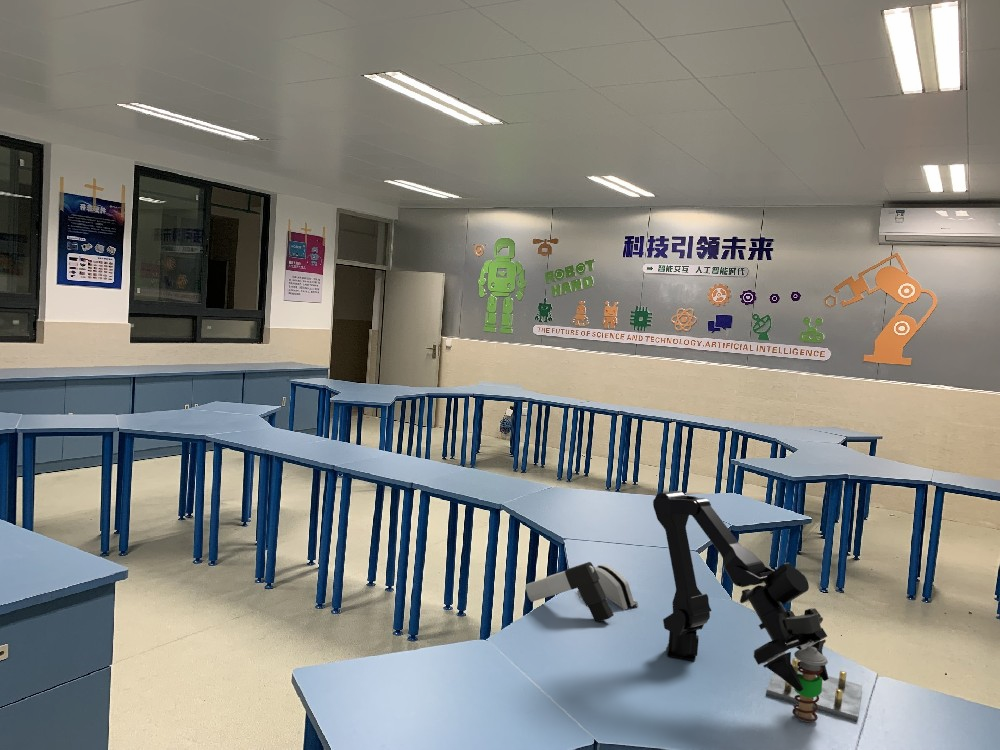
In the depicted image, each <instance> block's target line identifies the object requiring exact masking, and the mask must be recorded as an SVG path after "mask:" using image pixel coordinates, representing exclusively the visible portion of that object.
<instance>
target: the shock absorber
mask: <svg viewBox="0 0 1000 750" xmlns="http://www.w3.org/2000/svg"><path fill="white" fill-rule="evenodd" d="M793 654H794V658H796V659H798V660H799V662H798V663H797V665H798V671H799V672H801V673H802V674H797V676H798V678H799V680H800V682H801V684H802V687H803V690H802V691H800V692H799V691H797V690H796V689H795V688H794V690H795V691H796V692H797V693H798V694H800V695H796V696H795V697H794V698H795V699H796V700H797V701H799V705H798V704H794V705H793V708H792V710H791V711H792V714H793V715H794V717H796V718H797V719H799V720H800V721H802V722H805V723H810V722H816V721H817V720H818V718H819V716H818V715H817V713H816V712H818V711H819V710H818V705H817V704H816V702H818V701H819V696H818V695H820V694H821V692H822V677H820V675H819V674H820V673H821V672H822V671H823V669H822V667H821V666H823V665H825V666H826V665H828V663H829V661H828V658H827V657H826V656H825V655H824V654H823V653H822V654H823V655H822V654H821V653H819V652H818V651H817V649H816V648H815V647H811V646H808V647H807V648H806V649H802V650H799V649H798V650H796V651H795V652H794V653H793ZM800 669H802V670H803V671H802V670H800ZM816 675H817V677H816ZM814 697H817V699H816V700H814V701H813V699H814ZM798 698H800V699H798ZM813 704H814V705H815V706H816V708H815V709H813Z"/></svg>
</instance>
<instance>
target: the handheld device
mask: <svg viewBox="0 0 1000 750" xmlns="http://www.w3.org/2000/svg"><path fill="white" fill-rule="evenodd" d="M594 567H595V566H594V564H593V563H592V562H591V561H587V562H585V563H581V564H579V565H575V566H573V567H569V568H566V570H564V571H561V572H558V573H554V574H551V575H548V576H547V577H543V578H541V579H538V580H535V581H531V582H529V583H527V584H525V591H526V593H527V594H526V595H527V597H528V599H529V601H530V602H531V603H532V602H536V601H539V600H542V599H545V598H549V597H553V596H556V595H559V594H562V593H564V592H567V591H571V590H575V589H577V591H576V593H577V594H578V598H582V600H583V603H584V604H585V606H586V607H588V609H589V612H590V614H591V616H592V618H593V619H594V620H593V621H595V623H598V622H602V621H605V620H609V619H611V618H612V617H614V613H613V610H612V609H611V606H610V605H609V603H608V601H607V597H606V595H605V593H604V591H603V589H602V587H601V585H600V583H599V581H598V580H599V579H600V578H599V576H598V574H597V572H596V570H595V568H594Z"/></svg>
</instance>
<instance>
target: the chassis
mask: <svg viewBox="0 0 1000 750" xmlns="http://www.w3.org/2000/svg"><path fill="white" fill-rule="evenodd" d="M798 662H800V660H798V659H797V658H796V657H794V658H792V659H791V664H792V666H793V668H794V670H795V672H796V674H802V673H801V672H799V671H798V665H797V663H798ZM800 670H802V669H800ZM802 671H803V670H802ZM816 677H817V675H816ZM828 678H829V679H828V680H826V681H824V680H823V679H822V692H821V694H820V695H818V696H819V701H818V702H816V704H817V705H818V710H817V711H818V712H823V713H825V714H829V715H831V716H835V717H838V718H842V719H846V720H850V721H853V722H856V723H857V722H858V721H859V720H858V718H859V711H860V706H861V700H862V699H861V698H862V691H863V685H862V684H858V683H855V682H851V681H848V680H847V672H846V671H843V670H840V671H839V676H838V678H837V677H834V676H833V677H832V676H829V675H828ZM765 691H766V692H765V695H766V696H769V697H772V698H775V699H778V700H782V701H784V702H788V703H792V704H794V705H796V704H798V705H799V701H797V700H796V699H795V698H794V697H795V696H796V695H800V694H798V693H797V692H796V691H795V690H794V687H792V686H791V685H790V684H789V683H787V682H786V681H785V680H784V679H782V678H781V677H780V676H778V675H777V674H775V673H774V672H773V673H772V676H771V679H770V681H769V683H768V685H767V688H766V690H765ZM798 699H800V698H798ZM816 699H817V697H814V699H813V701H814V700H816ZM815 708H816V706H815V705H814V704H813V709H812V710H814V709H815Z"/></svg>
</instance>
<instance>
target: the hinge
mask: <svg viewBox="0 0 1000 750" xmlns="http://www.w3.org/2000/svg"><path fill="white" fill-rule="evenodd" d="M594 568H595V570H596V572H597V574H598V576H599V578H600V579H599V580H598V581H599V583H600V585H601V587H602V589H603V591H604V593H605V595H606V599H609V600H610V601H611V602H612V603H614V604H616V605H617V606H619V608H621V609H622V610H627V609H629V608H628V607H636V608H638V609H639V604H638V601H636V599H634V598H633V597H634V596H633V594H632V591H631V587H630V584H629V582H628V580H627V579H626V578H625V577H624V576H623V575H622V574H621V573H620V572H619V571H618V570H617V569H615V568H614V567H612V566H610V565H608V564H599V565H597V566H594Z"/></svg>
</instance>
